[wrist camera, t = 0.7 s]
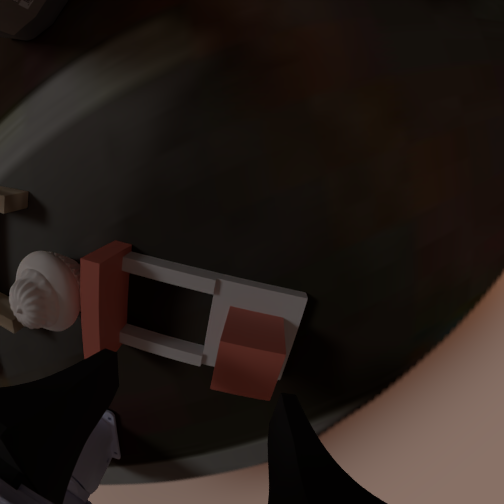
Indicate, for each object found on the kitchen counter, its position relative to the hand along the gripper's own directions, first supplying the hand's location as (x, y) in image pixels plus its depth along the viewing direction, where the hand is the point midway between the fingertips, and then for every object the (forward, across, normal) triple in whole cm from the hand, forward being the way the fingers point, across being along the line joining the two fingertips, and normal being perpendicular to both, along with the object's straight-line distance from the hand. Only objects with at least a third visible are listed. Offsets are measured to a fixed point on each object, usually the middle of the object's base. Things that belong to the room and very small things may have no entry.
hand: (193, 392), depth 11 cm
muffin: (+10, +13, +1) cm, 16 cm away
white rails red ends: (+9, +2, +1) cm, 10 cm away
